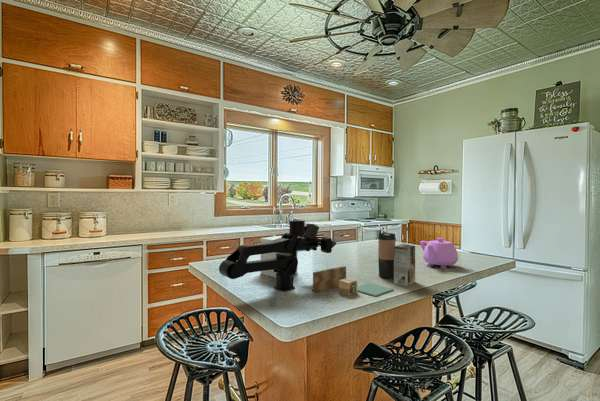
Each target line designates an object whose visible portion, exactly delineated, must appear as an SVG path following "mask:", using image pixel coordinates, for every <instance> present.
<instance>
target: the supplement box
mask: <svg viewBox="0 0 600 401" xmlns="http://www.w3.org/2000/svg"><path fill="white" fill-rule="evenodd" d="M282 236H283V235H275V236H268V237H261V238H260V240H259V241H260V243H268V242H272V241H273V240H275V239H278V238H281V237H282ZM290 240H291V239H290ZM260 243H259V244H260ZM277 254H281V253H277ZM275 257H276V252H273V253H266V254H260V260H265V259H273V258H275ZM296 258H297V259H298V251H297V252H296ZM260 274H262V275H264V276H268V277H272V278H275V279H276V274H277V273H276V272H274V270H266V271H260ZM297 274H298V268H297V269H296V273H295V274H294V275H297Z"/></svg>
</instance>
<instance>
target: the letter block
mask: <svg viewBox="0 0 600 401" xmlns="http://www.w3.org/2000/svg"><path fill="white" fill-rule="evenodd" d="M357 286H358V280H357V279H353V278H349V277H346V278H345V279H341V280H339V286H338V294H341V295H345V296H353V295H356V294H357V293H358V292H357Z"/></svg>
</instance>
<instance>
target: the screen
mask: <svg viewBox="0 0 600 401" xmlns="http://www.w3.org/2000/svg"><path fill="white" fill-rule="evenodd" d="M345 278H347V266H346V265H341V266H336V267H332V268H327V269H323V270H317V271H314V272H313V273H312V288H311V291H312V292H313V293H322V291H325V290H329V289H332V288H335V287H339V280H341V279H345Z"/></svg>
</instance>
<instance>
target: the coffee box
mask: <svg viewBox="0 0 600 401" xmlns="http://www.w3.org/2000/svg"><path fill="white" fill-rule="evenodd" d="M414 283H416V245H413V244H412V245H411V244H405V243H402V244H398V245H395V247H394V278H393V284H394V285H397V286H403V287H409V286H411V285H412V284H414Z"/></svg>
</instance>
